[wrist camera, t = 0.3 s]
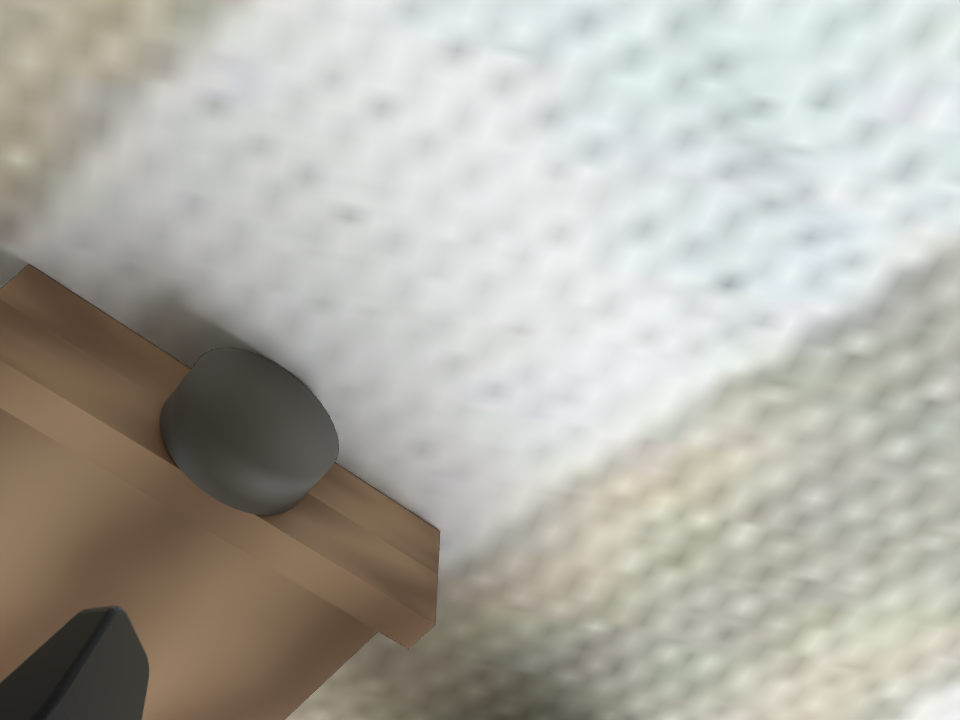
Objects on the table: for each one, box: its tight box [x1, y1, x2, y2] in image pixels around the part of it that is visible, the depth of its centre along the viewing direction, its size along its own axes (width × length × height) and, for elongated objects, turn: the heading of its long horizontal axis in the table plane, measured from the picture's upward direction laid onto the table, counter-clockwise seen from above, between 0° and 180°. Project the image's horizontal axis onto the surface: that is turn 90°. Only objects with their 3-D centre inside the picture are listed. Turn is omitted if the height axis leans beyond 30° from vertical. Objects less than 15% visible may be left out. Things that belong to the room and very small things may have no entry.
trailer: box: [0, 264, 440, 720], centre depth 27 cm, size 14×19×4 cm
